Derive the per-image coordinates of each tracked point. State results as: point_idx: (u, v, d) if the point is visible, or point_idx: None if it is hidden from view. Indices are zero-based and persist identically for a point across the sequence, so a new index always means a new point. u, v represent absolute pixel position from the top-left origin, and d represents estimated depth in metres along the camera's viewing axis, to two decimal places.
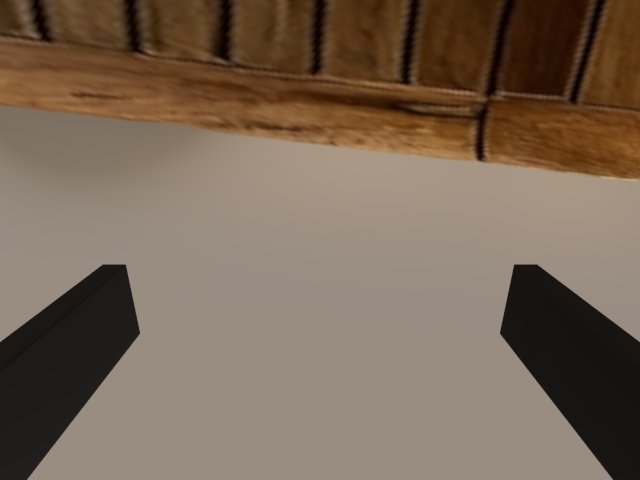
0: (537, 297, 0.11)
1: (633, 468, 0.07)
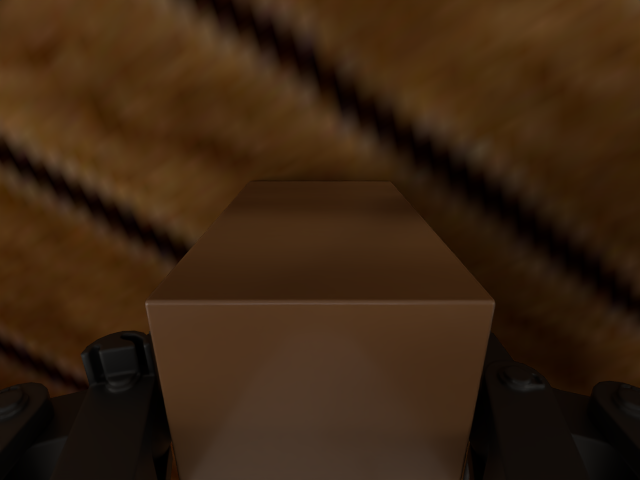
0: None
1: None
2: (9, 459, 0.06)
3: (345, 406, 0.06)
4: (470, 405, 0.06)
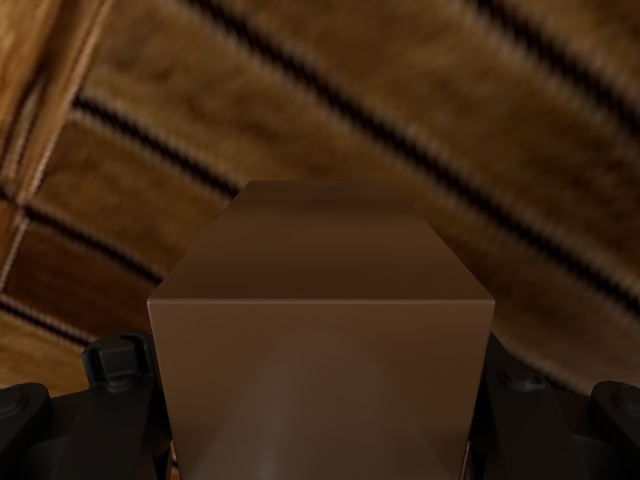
0: None
1: None
2: (9, 459, 0.06)
3: (346, 405, 0.06)
4: (470, 404, 0.06)
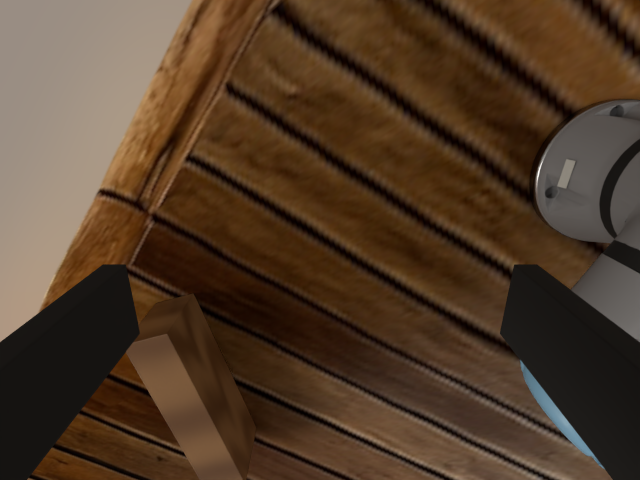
0: (536, 297, 0.11)
1: (633, 468, 0.07)
2: None
3: (156, 353, 0.39)
4: (173, 349, 0.39)
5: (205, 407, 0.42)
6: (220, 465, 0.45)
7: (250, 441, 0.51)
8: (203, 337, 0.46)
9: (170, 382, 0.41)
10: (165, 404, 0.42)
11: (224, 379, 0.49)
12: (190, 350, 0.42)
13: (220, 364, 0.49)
